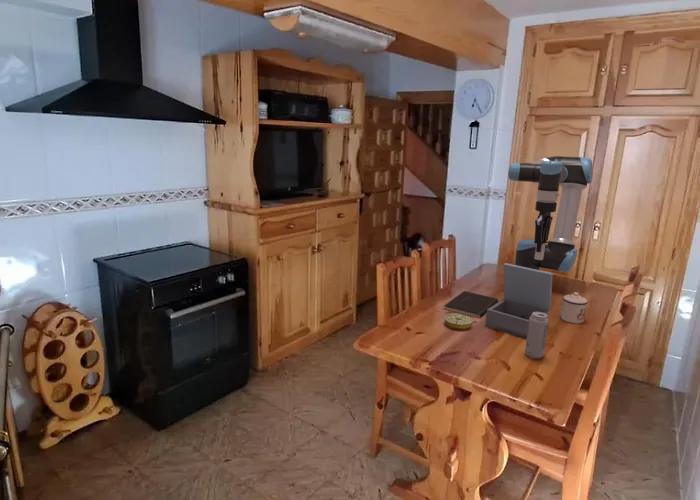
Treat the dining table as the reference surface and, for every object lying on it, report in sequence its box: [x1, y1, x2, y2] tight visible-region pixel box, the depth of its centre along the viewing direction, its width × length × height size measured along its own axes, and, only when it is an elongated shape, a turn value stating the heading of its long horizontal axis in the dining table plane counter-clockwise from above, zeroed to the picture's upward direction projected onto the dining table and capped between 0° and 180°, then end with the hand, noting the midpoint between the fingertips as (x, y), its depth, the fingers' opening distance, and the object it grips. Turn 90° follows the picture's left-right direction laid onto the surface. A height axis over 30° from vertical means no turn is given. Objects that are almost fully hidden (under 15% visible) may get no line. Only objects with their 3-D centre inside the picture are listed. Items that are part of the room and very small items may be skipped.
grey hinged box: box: [485, 298, 550, 340], centre depth 177 cm, size 16×18×7 cm
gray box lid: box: [503, 262, 554, 312], centre depth 179 cm, size 16×18×1 cm
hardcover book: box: [443, 290, 499, 319], centre depth 198 cm, size 16×23×2 cm
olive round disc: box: [444, 313, 474, 331], centre depth 177 cm, size 10×11×4 cm
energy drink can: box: [524, 312, 550, 360], centre depth 153 cm, size 6×6×15 cm
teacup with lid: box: [560, 291, 588, 324], centre depth 186 cm, size 12×9×12 cm
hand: (538, 259), depth 183 cm, fingers closed
